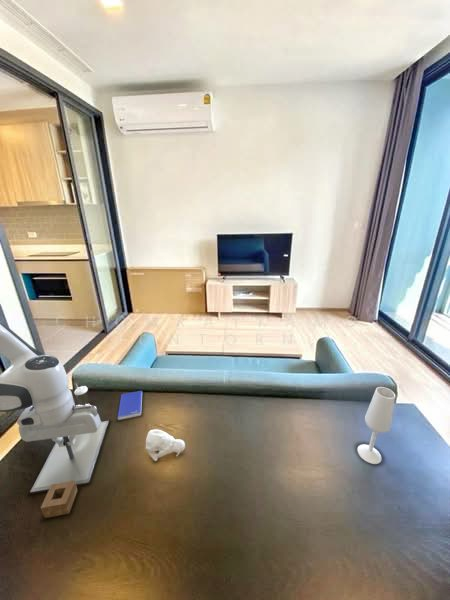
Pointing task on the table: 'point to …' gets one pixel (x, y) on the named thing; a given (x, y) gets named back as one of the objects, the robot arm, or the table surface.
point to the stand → (59, 499)
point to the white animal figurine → (162, 444)
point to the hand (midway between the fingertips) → (67, 444)
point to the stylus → (68, 448)
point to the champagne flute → (378, 422)
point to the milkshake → (82, 395)
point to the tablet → (71, 461)
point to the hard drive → (130, 405)
